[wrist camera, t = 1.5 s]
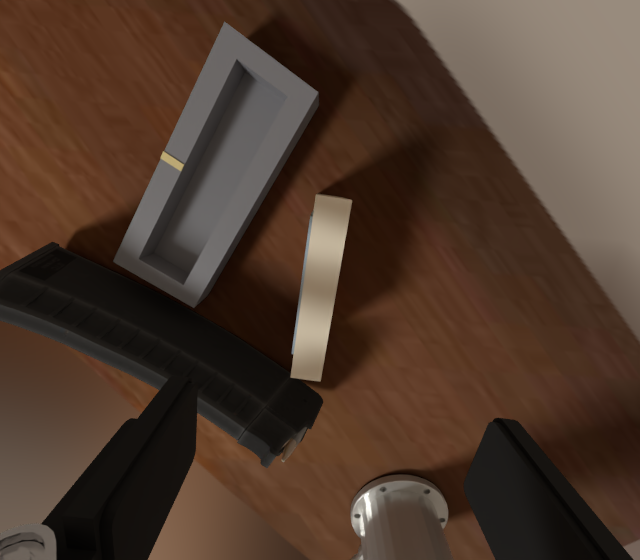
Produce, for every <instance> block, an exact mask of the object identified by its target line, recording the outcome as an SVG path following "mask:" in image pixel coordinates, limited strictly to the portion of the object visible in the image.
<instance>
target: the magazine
mask: <svg viewBox="0 0 640 560" xmlns="http://www.w3.org/2000/svg"><path fill="white" fill-rule="evenodd" d="M0 321H3V322H7V323H10V324H13V325H16V326H18V327H21V328H24V329H27V330H29V331H32V332H35V333H38V334H41V335H43V336H45V337H48V338H50V339H53V340H55V341H58V342H60V343H63V344H65V345H67V346H69V347H71V348H73V349H76V350H78V351H80V352H82V353H84V354H86V355H88V356H90V357H93V358H95V359H97V360H99V361H101V362H104V363H106V364H108V365H110V366H112V367H115V368H117V369H119V370H121V371H123V372H125V373H128V374H130V375H132V376H134V377H136V378H137V379H139V380H141V381H143V382H145V383H147V384H149V385H151V386H153V387H155V388H156V389H158V390H160V389H161V388H162V387H163V385H164V384H165V383H166V382H167V380H168V379H169V378H170V377H171V376H172V375H175V376H183V377H191V378H192V380H193V383H197V385H198V397H197V413H199V414H200V415H202V416H203V417H205V418H206V419H208V420H209V421H211V422H212V423H214V424H215V425H217V426H218V427H219V428H221V429H222V430H224V431H225V432H227V433H228V434H229V435H231V436H232V437H234V438H235V439H236V440H238V442H237V443H239V444H241V445H243V446H245V447H246V448H248V449H249V450H251V451H252V452H254V453H255V454H256V455H257V456H258V457H259V458H260V459H261V465H263V466H264V467H266V468H268V466H269V465H270V464H271V463H272V461H273V460H274V459H275V457H276V456H279V455H280V454H281V453H282V452H283V455H282V460H281V461H282V462H284V461H285V460H286V459H287V458H288V457H289V456H290V455H291V454H292V452H293V451H294V449H295V447H296V446H297V445H298V443H299V442H301V441H302V439H303V437H304V435H305V433H306V431H307V429H311V428H312V426H313V424H314V422H315V419H316V417H317V415H318V413H319V411H320V408H321V406H322V404H323V399H322V398H321V396H320V395H319V394H318V393H316V392H315V391H314V390H313V389H311V388H310V387H309V386H307V385H306V384H305V383H303V382H302V381H301V380H299V379H297V378H290V377H291V373H289V372H288V371H287V370H285V369H284V368H282V367H281V366H280V365H278V364H277V363H275V362H274V361H272V360H271V359H269V358H268V357H266V356H265V355H263V354H262V353H260V352H259V351H257V350H256V349H254V348H253V347H251V346H250V345H248V344H247V343H245V342H244V341H242V340H241V339H239V338H238V337H236V336H234V335H233V334H231V333H230V332H228V331H226V330H225V329H223V328H221V327H220V326H218V325H216V324H215V323H213V322H211V321H210V320H208V319H206V318H204V317H202V316H201V315H199V314H197V313H195V312H193V311H192V310H190V309H188V308H186V307H184V306H182V305H180V304H178V303H177V302H175V301H173V300H171V299H169V298H167V297H165V296H163V295H161V294H159V293H157V292H155V291H153V290H151V289H149V288H147V287H145V286H143V285H141V284H139V283H137V282H135V281H133V280H131V279H128V278H126V277H124V276H122V275H120V274H118V273H116V272H113V271H111V270H109V269H107V268H105V267H103V266H100V265H98V264H96V263H94V262H92V261H90V260H88V259H85V258H83V257H81V256H79V255H77V254H75V253H73V252H70V251H68V250H66V249H64V248H62V247H60V246H59V244H57V243H54V242H51V243H49V244H48V245H46V246H44V247H42V248H40V249H38V250H37V251H35V252H33V253H31V254H29V255H27V256H25V257H24V258H22V259H20V260H18V261H16V262H14V263H13V264H11V265H9V266H7V267H5V268H3V269H2V270H0Z"/></svg>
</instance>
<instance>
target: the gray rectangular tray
mask: <svg viewBox="0 0 640 560" xmlns="http://www.w3.org/2000/svg"><path fill="white" fill-rule="evenodd" d="M318 106H319V92H317V91H316V90H315V89H313V88H312V87H311V86H309V85H308V84H307V83H305V82H304V81H303V80H301V79H300V78H299V77H297V76H296V75H295V74H293V73H292V72H291V71H289V70H288V69H287V68H285V67H284V66H283V65H281V64H280V63H279V62H277V61H276V60H275V59H273V58H272V57H271V56H269V55H268V54H267V53H265V52H264V51H263V50H261V49H260V48H259V47H257V46H256V45H255V44H253V43H252V42H251V41H249V40H248V39H247V38H245V37H244V36H243V35H242V34H240V33H239V32H238V31H236V30H235V29H234V28H232V27H231V26H230V25H228V24H227V23H226V22H224V24H223V26H222V28H221V30H220V33H219V35H218V37H217V39H216V41H215V43H214V46H213V48H212V50H211V52H210V54H209V56H208V58H207V61H206V63H205V65H204V67H203V69H202V71H201V73H200V76H199V78H198V80H197V82H196V84H195V86H194V88H193V91H192V93H191V95H190V97H189V99H188V101H187V103H186V106H185V108H184V110H183V112H182V114H181V116H180V118H179V121H178V123H177V125H176V127H175V129H174V131H173V134H172V136H171V138H170V140H169V142H168V144H167V146H166V149H165V151H163V153H162V156H161V159H160V161H159V164H158V166H157V168H156V170H155V172H154V174H153V176H152V179H151V181H150V183H149V185H148V187H147V189H146V191H145V194H144V196H143V198H142V200H141V202H140V204H139V206H138V209H137V211H136V213H135V215H134V217H133V219H132V221H131V224H130V226H129V228H128V230H127V232H126V234H125V237H124V239H123V241H122V243H121V245H120V247H119V249H118V252H117V254H116V256H115V258H114V260H113V262H114V263H116V264H118V265H119V266H121V267H123V268H125V269H126V270H128V271H130V272H132V273H133V274H135V275H137V276H139V277H140V278H142V279H144V280H146V281H147V282H149V283H151V284H153V285H154V286H156V287H158V288H160V289H161V290H163V291H165V292H167V293H168V294H170V295H172V296H174V297H175V298H177V299H179V300H181V301H182V302H184V303H186V304H188V305H189V306H191V307H193V308H195V307H196V306H197V305H198V304H199V303H200V302H201V301H202V300H203V299H205V298H206V297H207V296H208V294H209V293H210V291H211V289H212V288H213V286H214V284H215V283H216V281H217V279H218V277H219V276H220V274H221V272H222V271H223V269H224V267H225V265H226V264H227V262H228V260H229V259H230V257H231V255H232V253H233V252H234V250H235V248H236V247H237V245H238V243H239V241H240V240H241V238H242V236H243V235H244V233H245V231H246V229H247V228H248V226H249V224H250V223H251V221H252V219H253V217H254V216H255V214H256V212H257V211H258V209H259V207H260V205H261V204H262V202H263V200H264V199H265V197H266V195H267V194H268V192H269V190H270V188H271V187H272V185H273V183H274V182H275V180H276V178H277V176H278V175H279V173H280V171H281V170H282V168H283V166H284V164H285V163H286V161H287V159H288V158H289V156H290V154H291V152H292V151H293V149H294V147H295V146H296V144H297V142H298V140H299V139H300V137H301V135H302V134H303V132H304V130H305V128H306V127H307V125H308V123H309V122H310V120H311V118H312V116H313V115H314V113H315V111H316V110H317V108H318Z"/></svg>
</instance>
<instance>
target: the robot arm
mask: <svg viewBox="0 0 640 560" xmlns="http://www.w3.org/2000/svg"><path fill="white" fill-rule="evenodd" d="M197 397H198V385H197V383H193V380H192V378H191V377H183V376H175V375H172V376H171V377H170V378H169V379H168V380H167V382H166V383H165V384H164V385H163V387H162V388H161V389H160V391H159V392H158V393H157V394H156V396H155V397H154V398H153V400H152V401H151V402H150V403H149V405H148V406H147V407H146V408H145V410H144V411H143V412H142V414H141V415H140V416H139V418H138V419H133V418H131V419H129V420H127V421H126V422H125V423H124V424H123V425H122V426H121V428H120V429H119V430H118V431H117V433H116V434H115V435H114V436H113V437H112V438H111V440H110V441H109V442H108V443H107V445H106V446H105V447H104V448H103V449H102V451H101V452H100V453H99V455H97V457H96V458H95V459H94V460H93V462H92V463H91V464H90V465H89V466H88V468H87V469H86V470H85V471H84V473H83V474H82V475H81V476H80V477H79V479H78V480H77V481H76V482H75V484H74V485H73V486H72V487H71V489H70V490H69V491H68V492H67V493H66V494H65V496H64V497H63V498H62V499H61V501H60V502H59V503H58V504H57V505H56V507H55V508H54V509H53V510H52V511H51V513H50V514H49V515H48V516H47V518H46V519H45V520H44V521H43V522H42V524H37V523H34V524H26V525H20V526H18V527H15V528H12V529H9V530H6V531H4V532H2V533H0V560H148V558H149V555H150V553H151V551H152V549H153V547H154V544H155V542H156V540H157V538H158V536H159V534H160V531H161V529H162V527H163V525H164V523H165V521H166V518H167V516H168V514H169V512H170V509H171V508H172V505H173V503H174V501H175V499H176V497H177V495H178V492H179V490H180V488H181V486H182V484H183V482H184V479H185V477H186V475H187V473H188V471H189V468H190V466H191V464H192V462H193V459H194V456H195V451H196V427H197ZM464 491H465V495H466V497H467V499H468V501H469V504H470V506H471V508H472V510H473V512H474V514H475V516H476V519H477V521H478V523H479V525H480V527H481V529H482V531H483V534H484V536H485V538H486V540H487V542H488V544H489V546H490V549H491V551H492V553H493V555H494V557H495V559H496V560H633V559H632V558H631V556H630V555H629V554H628V553H627V552H626V550H625V549H624V548H623V547H622V545H621V544H620V543H619V542H618V541H617V539H616V538H615V537H614V536H613V535H612V533H611V532H610V531H609V530H608V529H607V527H606V526H605V525H604V524H603V523H602V521H601V520H600V519H599V518H598V517H597V515H596V514H595V513H594V512H593V511H592V509H591V508H590V507H589V506H588V505H587V503H586V502H585V501H584V500H583V499H582V497H581V496H580V495H579V494H578V493H577V491H576V490H575V489H574V488H573V487H572V485H571V484H570V483H569V482H568V481H567V480H566V478H565V477H564V476H563V475H562V474H561V472H560V471H559V470H558V469H557V468H556V466H555V465H554V464H553V463H552V462H551V460H550V459H549V458H548V457H547V456H546V454H545V453H544V452H543V451H542V450H541V448H540V447H539V446H538V445H537V444H536V442H535V441H534V440H533V439H532V438H531V436H530V435H529V434H528V433H527V432H526V430H525V429H524V428H523V427H522V426H521V424H520V423H519V422H518V421H515V420H510V419H503V418H495V419H494V420H493V422H490V423H489V424H488V426H487V428H486V431H485V433H484V435H483V438H482V440H481V443H480V445H479V447H478V450H477V452H476V455H475V457H474V459H473V462H472V464H471V467H470V469H469V471H468V474H467V476H466V479H465V481H464ZM448 512H449V511H448V507H447V503H446V501H445V498H444V496H443V494H442V493H441V491H440V490H439V489H438V488H437V487H436V486H435V485H434V484H432V483H431V482H429V481H428V480H425V479H423V478H420V477H417V476H412V475H402V474H399V475H390V476H385V477H381V478H379V479H376V480H374V481H372V482H370V483H369V484H367V485H366V486H364V487H363V488H362V489H361V490H360V491H359V492H358V493H357V495H356V496H355V497H354V500H353V502H352V505H351V522H352V526H353V528H354V531H355V532H356V534H357V535H358V536H359V537H360V538H361V545H360V547H359V550H358V554H355V555H354V556H353V557H352V558H351V559H350V560H454V559H453V556H452V554H451V551H450V548H449V545H448V542H447V540H446V537H445V534H444V531H443V529H444V527H445V525H446V523H447V520H448Z"/></svg>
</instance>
